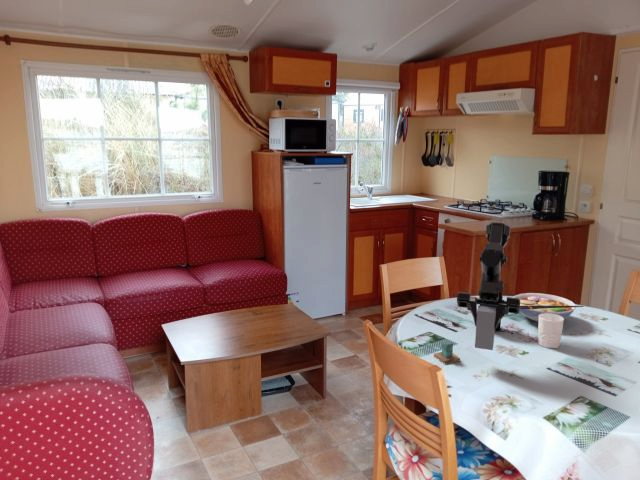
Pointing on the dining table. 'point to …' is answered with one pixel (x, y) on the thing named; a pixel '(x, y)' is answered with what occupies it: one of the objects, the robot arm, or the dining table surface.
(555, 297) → the ramen bowl
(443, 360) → the post plinth
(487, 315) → the tall grey pillar
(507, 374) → the dining table surface
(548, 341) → the white cup
